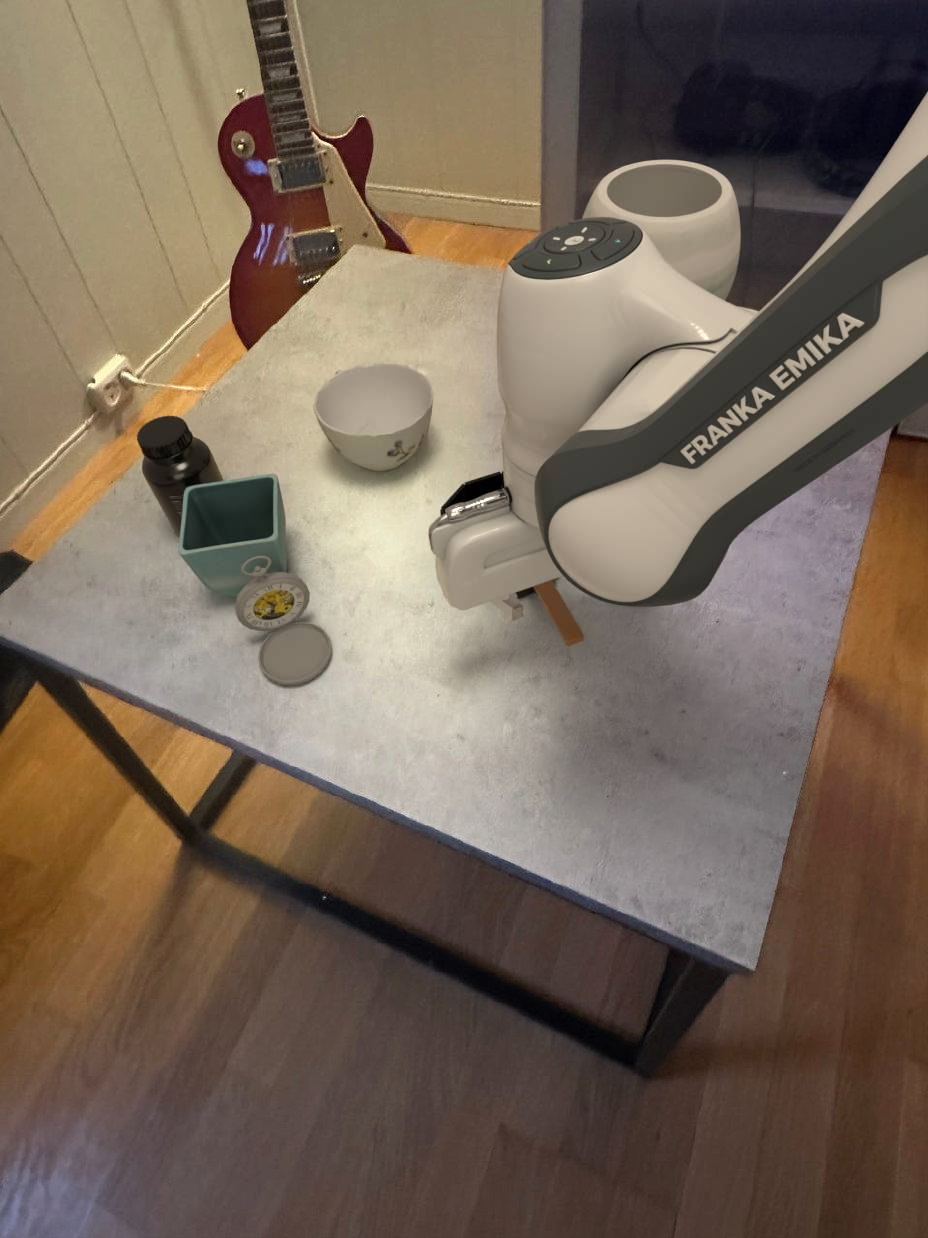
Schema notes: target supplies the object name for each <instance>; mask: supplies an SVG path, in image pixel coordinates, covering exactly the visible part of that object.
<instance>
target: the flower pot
mask: <svg viewBox="0 0 928 1238" xmlns="http://www.w3.org/2000/svg"><path fill="white" fill-rule="evenodd" d="M285 511H286V510H285V506H284V501H283V496H282V491H281V486H280V481H279V478H278V475H277V474H276V473H265V474H259V475H254V476H246V477H240V478H233V479H226V480H224V481H220V482H213V483H207V484H199V485H194V486H190V487H187V488H186V489H185V491H184V498H183V511H182V522H181V530H180V536H179V539H178V545H177V547H178V548H177V551H178V555H180V557H181V559H182V560H183V561H184V562H185V563H186V565H187V566H188V567H189V569H190V570H191V571H192V572H193V574H194V575H195V576H196V577H197V579H198V580H199V581H200V583H202V584H203V585H204V586H205V587H206V588H208V589H210V590H211V591H213V592H215V593H217V594H220V595H223V596H228V597H230V598H231V597H232V598H235V597H236V598H237V596H238V594H239V593H240V591H241V590H242V589H243V588H244V587H245V586H246V585H247V584H248V583H249V582H251V581H252V580H254V579H256V577H253V576H247V575H244V574H243V573H242V571H241V567H242V566H243V564H244V563H245V562H246V561H247V560H249V559H251V558H253V557H256V556H267V557H269V558H270V559H271V565H270V567H269V568H268V569H267V571H266V574H269V573H274V572H286V573H287V521H286V519H287V518H286V512H285ZM267 565H268V561H267V560H266V559H263V558H260V559H254V560H252V561H250V562H249V563H248V564H247V565H246V566H245V569H244V570H245V571H246V572H247V573H253V572H254V571H255V567H257V566H259V567H260V568H266V566H267Z"/></svg>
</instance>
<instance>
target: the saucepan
mask: <svg viewBox="0 0 928 1238" xmlns="http://www.w3.org/2000/svg"><path fill="white" fill-rule="evenodd" d="M503 488H504V475H503V470H502V471H500V470H499V471H496V472H494V473H490V474H488V475H487V474H486V475H484V476H480V477H477V478H474V479H470V480H468V481H465V482H464V483H461V484H460V486H459V487H458V488H457V489H456V490H455V491H454V493H452V495H450V496H449V498H448V499H447V500H446V501H445V502H444V503H443V505H442V506H441V507H440V509H439V511H440V513H439V515H440V516H442V515H443V514H445V509H446V508H448V507H450V506H452V505H454V504H457V503H461V502H463V503H465V502H468V501H471V500H474V499H476V498H478V497H481V496H483V495H485V494H488V493H491V492H494V491H497V490H500V489H503ZM440 516H439V517H440ZM557 580H559V578H556V579H553V580H550V581H547V582H544V583H541V584H538V585H536V586H533V587H530V588H527V589H524V590H521V591H518V592H516V594H517V596H518V599H520V598H523V597H526V596H529V595H533V594H535V593H536V595H537V596H538V599H539V600H540V602H541V604H542V605H543V607H544V609H545V610H546V613H547V614H548V616H549V618H550V619H551V621H552V623H553V625H554V627H555V628H556V630H557V632H558V633H559V635H560V637H561V639H562V641H563V643H564V644H565V646H566V647H570V646H573V645H576V644H579V643H581V642H584V641H585V635H584V633H583V631H582V629H581V627H580V625H579V623H578V622H577V621H576V619H575V618H574V616H573V614H572V612H571V611H570V609H569V607H568V606H567V604H566V602H565V600H564V598H563V596H562V595H561V593H560V592H559V590H558V588H557V587H556V585H555V583H556V582H557Z"/></svg>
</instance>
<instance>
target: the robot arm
mask: <svg viewBox="0 0 928 1238" xmlns="http://www.w3.org/2000/svg"><path fill="white" fill-rule="evenodd" d="M496 314H497V315H496V369H497V371H496V373H497V383H498V385H497V386H498V391H499V395H500V397H501V400H502V402H503V405H504V407H505V417H504V419H503V422H502V427H501V438H500V441H501V453H502V455H501V456H502V471H503V475H504V488H503V489H500V490H497V491H494V492H491V493H488V494H485V495H483V496H481V497H478V498H476V499H474V500H471V501H468V502H465V503H463V502H461V503H457V504H454V505H452V506H450V507H448V508H446V509H445V514H443V515H442V516H438V517H437V518H436V519H435V520H434V521H433V522H431V524H429V527H428V540H429V541H428V543H429V547H430V550H431V552H432V554H433V555H434V556H435V573H436V579H437V581H438V584H439V587H440V589H441V591H442V594H443V596H444V598H445V599H446V602H447V603H448V606H450V607H452V608H454V609H457V610H458V611H466V610H470V609H472V608H475V607H478V606H481V605H484V604H486V603H490V602H491V603H492V605H493V606H495V607H497V608H498V609H499V611H500V614H501V616H502V618H503V619H504V621H505V623H507V624H509V623H510V622H513V621H515V620H518V619H521V618H523V617H524V613H523V612H524V606H523V603H522V602H521V599H519V598H518V596H517V594H516V592H518V591H521V590H524V589H527V588H530V587H533V586H536V585H538V584H541V583H544V582H547V581H550V580H553V579H556V578H558V579H559V578H561V577H564V578H565V579H566V580H567V581H568V582H569V583H570V584H571V585H572V586H574V587H575V588H576V589H578V590H579V591H580V592H582V593H583V594H585V595H587V596H589V597H591V598H593V599H595V600H597V601H599V602H603V603H606V604H610V605H614V606H622V607H627V608H629V607H630V608H658V607H665V606H667V607H668V606H672V605H673V606H674V605H678V604H683V603H686V602H689V601H692V600H694V599H696V598H698V597H699V596H700V595H702V593H704V592H705V591H706V589H708V587H709V586H710V584H711V583H712V581H713V579H714V577H715V575H716V574H717V572H718V571H719V568H720V566H721V565H722V563H723V562H724V559H725V557H726V556H727V553H728V551H729V548H730V547H731V544H732V543H733V542H734V541H735V539H736V538H737V537H738V536H740V534H741V533H742V532H743V531H744V530H746V529H747V528H748V527H750V525H751V524H753V523H754V522H755V521H756V520H758V519H759V518H761V517H762V516H764V515H765V514H766V513H768V512H769V511H770V510H772V509H774V508H775V507H777V506H778V505H780V504H782V503H783V502H784V501H786V500H787V499H789V498H790V497H792V496H793V495H794V494H796V493H797V492H799V491H800V490H802V489H803V488H805V487H806V486H808V485H809V484H811V483H812V482H815V480H817V479H818V478H820V477H821V476H822V475H824V474H826V473H827V472H829V471H830V470H832V469H833V468H835V467H836V466H837V465H839V464H841V463H842V462H844V461H845V460H846V459H848V458H849V457H851V456H853V455H854V454H855V453H857V452H859V451H860V450H861V449H863V448H864V447H866V446H867V445H868V444H870V443H872V442H873V441H874V440H876V439H877V438H879V437H880V436H882V435H883V434H885V433H886V432H888V431H890V430H891V429H892V428H893V427H895V426H897V425H898V424H899V423H901V422H903V421H904V420H906V419H907V418H909V417H910V416H911V415H913V414H915V413H916V412H918V411H919V410H921V408H923V407H925V406H926V405H928V91H927V92H926V93H925V95H924V97H923V98H922V100H921V101H920V103H919V104H918V106H917V108H916V109H915V111H914V112H913V114H912V115H911V117H910V119H909V120H908V122H907V124H906V125H905V127H904V128H903V130H902V132H900V134H899V136H898V137H897V139H896V140H895V142H894V143H893V145H892V147H891V148H890V149H889V151H888V153H887V154H886V156H885V157H884V159H883V160H882V162H881V163H880V165H879V166H878V167H877V170H875V172H874V173H873V175H872V176H871V178H870V180H869V181H868V183H867V184H866V185H865V187H864V188H863V190H862V191H861V193H860V194H859V195H858V197H857V198H856V200H855V201H854V202H853V204H852V205H851V206H850V208H849V210H847V212H846V214H845V215H844V216H843V218H842V219H840V221H839V223H838V224H837V225H836V227H835V228H834V229H833V230H832V232H831V233H830V235H828V237H827V238H826V239H825V241H824V242H823V243H822V245H821V246H820V247H819V248H818V249H817V250H816V252H815V253H814V254H813V255H812V257H811V258H810V259H809V260H808V261H807V262H806V263H805V264H804V266H803V267H802V268H801V269H800V270H799V271H798V272H797V274H795V276H793V277H792V279H790V281H788V283H787V284H786V285H785V286H784V287H782V288H781V290H780V291H779V292H778V293H777V294H776V295H775V296H774V297H773V298H772V299H770V301H768V302H767V303H766V304H765V305H764V306H763V307H761V309H758V308H755V307H752V306H747V305H741V304H736V303H731V302H728V301H727V300H723V299H721V298H719V297H717V296H715V295H713V294H712V293H710V292H708V291H706V290H705V289H703V288H701V287H700V286H698V285H697V284H695V283H693V282H692V281H690V280H689V279H687V278H686V277H685V276H683V275H682V274H681V273H679V272H678V271H677V270H676V269H674V268H673V267H672V266H671V265H670V264H669V263H668V262H667V261H666V260H665V259H664V257H663V256H662V255H661V253H660V252H659V251H658V249H657V247H656V246H655V244H654V243H653V241H652V239H651V238H650V236H649V235H648V234H647V233H646V232H645V231H644V230H643V229H642V228H641V227H639V226H638V225H636V224H634V223H631V222H629V221H625V220H621V219H617V218H611V217H592V218H584V219H582V218H579V219H578V218H577V219H573V220H570V221H569V222H566V223H563V224H559V225H556V226H552V227H549V228H548V229H546V230H544V231H543V232H541V233H540V234H538V235H537V236H535V237H534V238H533V239H531V240H530V241H529V242H527V243H526V244H525V245H524V246H522V248H520V249H519V250H518V251H517V252H516V253H515V254H514V255H513V257H512V258H511V259H510V260H509V261H508V263H507V264H506V267H505V269H504V272H503V276H502V280H501V284H500V288H499V294H498V302H497V313H496Z"/></svg>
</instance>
